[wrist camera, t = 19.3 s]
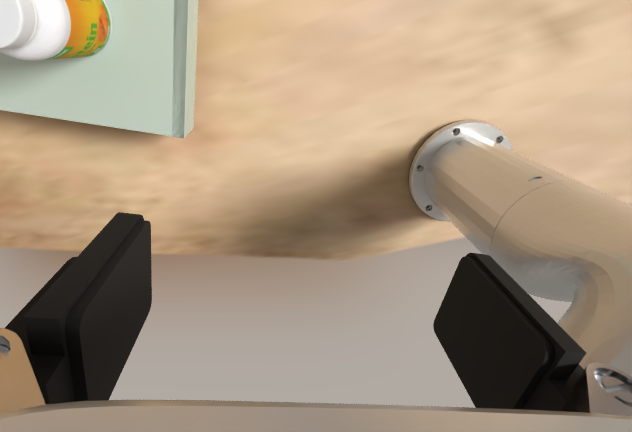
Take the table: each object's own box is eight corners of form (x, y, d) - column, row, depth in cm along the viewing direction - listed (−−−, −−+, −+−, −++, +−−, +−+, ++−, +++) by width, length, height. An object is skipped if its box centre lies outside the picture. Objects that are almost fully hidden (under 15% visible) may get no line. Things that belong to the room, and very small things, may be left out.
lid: (201, -75, 28) (190, -92, 24) (193, 128, 34) (184, 138, 31) (-39, -137, 25) (-91, -167, 21) (4, 97, 31) (-31, 105, 28)
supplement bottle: (87, 72, 28) (2, 86, 19) (19, 13, 26) (-112, -1, 17) (129, 20, 26) (59, 10, 18) (61, -47, 24) (-56, -94, 16)
